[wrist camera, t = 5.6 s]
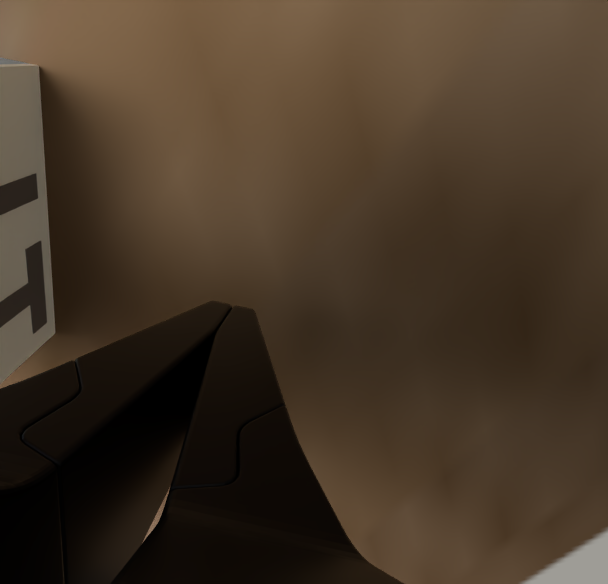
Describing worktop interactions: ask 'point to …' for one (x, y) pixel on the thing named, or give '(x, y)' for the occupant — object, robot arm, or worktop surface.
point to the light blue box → (23, 219)
